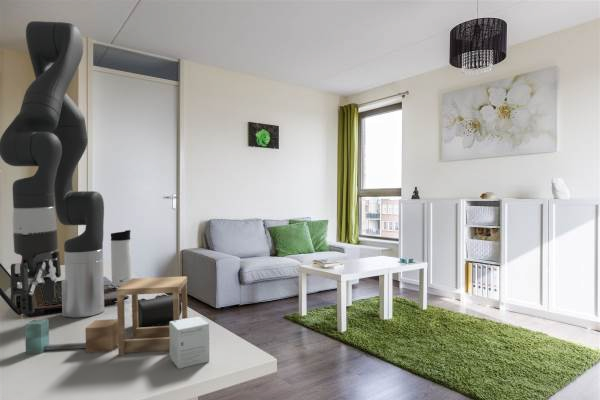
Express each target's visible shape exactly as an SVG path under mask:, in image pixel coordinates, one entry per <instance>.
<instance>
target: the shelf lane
mask: <svg viewBox="0 0 600 400" xmlns="http://www.w3.org/2000/svg"><path fill="white" fill-rule="evenodd" d="M187 283H188V276H184V275H183V276H162V277H137V278H135V277H134V278H133V277H131V280H129V281H128V282H126V283H125V284H123V285H122V286H121V287H119V288H118V289H115V290H116V293H115V294H116V305H117V312H116V313H117V319H118V345H117V346H118V349H117V352H118V356H125V354H126V353H129V354H130V353H139V352H140V353H142V352H143V353H144V352H146V353H147V352H160V351H170V330H169V325H163V326H162V325H158V326H152V327H141V328H139V325H138V300H139V295H153V294H154V295H155V294H157V295H158V294H173V318H174V321H175V320H181V319H185V318H189V317H188V284H187ZM180 292H181V306H182V311H181V315H179V299H180ZM130 295H131V318H132V319H131V320H132V321H131V322H132V338H129V339H128V338H126V328H125V327H126V325H125V322H126V321H125V320H126V319H125V318H126V317H125V296H130ZM180 317H181V319H180Z"/></svg>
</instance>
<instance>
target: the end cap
mask: <svg viewBox="0 0 600 400" xmlns="http://www.w3.org/2000/svg"><path fill="white" fill-rule="evenodd" d="M179 315H180V316H182V300H181V299H180V298H179ZM170 321H174V318H173V293H171V294H168V295H167V294H166V293H161V295H160V294H159V295H158V294H157V295H156V296H154V297H153V298H150V299H146V298H140V299H138V325H139V328H141V327H157V326H161V325H164V324H167V323H169V322H170Z"/></svg>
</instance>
